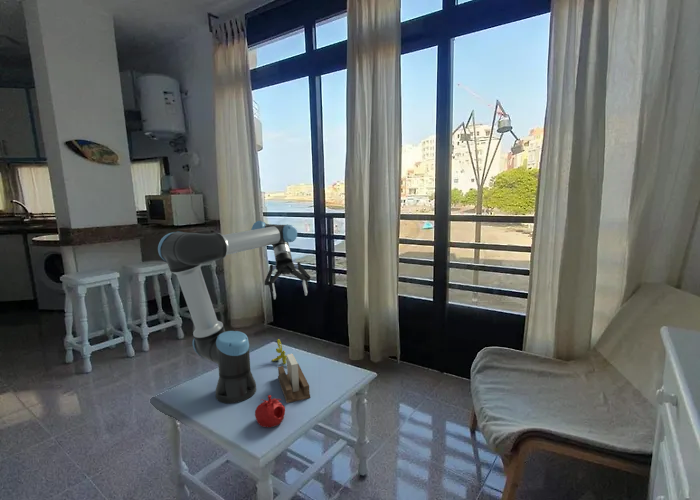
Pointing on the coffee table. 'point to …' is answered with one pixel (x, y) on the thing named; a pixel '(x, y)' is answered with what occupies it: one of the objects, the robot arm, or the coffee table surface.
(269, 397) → the pomegranate
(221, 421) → the coffee table surface
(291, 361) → the cream rectangular block
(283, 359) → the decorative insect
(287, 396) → the rack
